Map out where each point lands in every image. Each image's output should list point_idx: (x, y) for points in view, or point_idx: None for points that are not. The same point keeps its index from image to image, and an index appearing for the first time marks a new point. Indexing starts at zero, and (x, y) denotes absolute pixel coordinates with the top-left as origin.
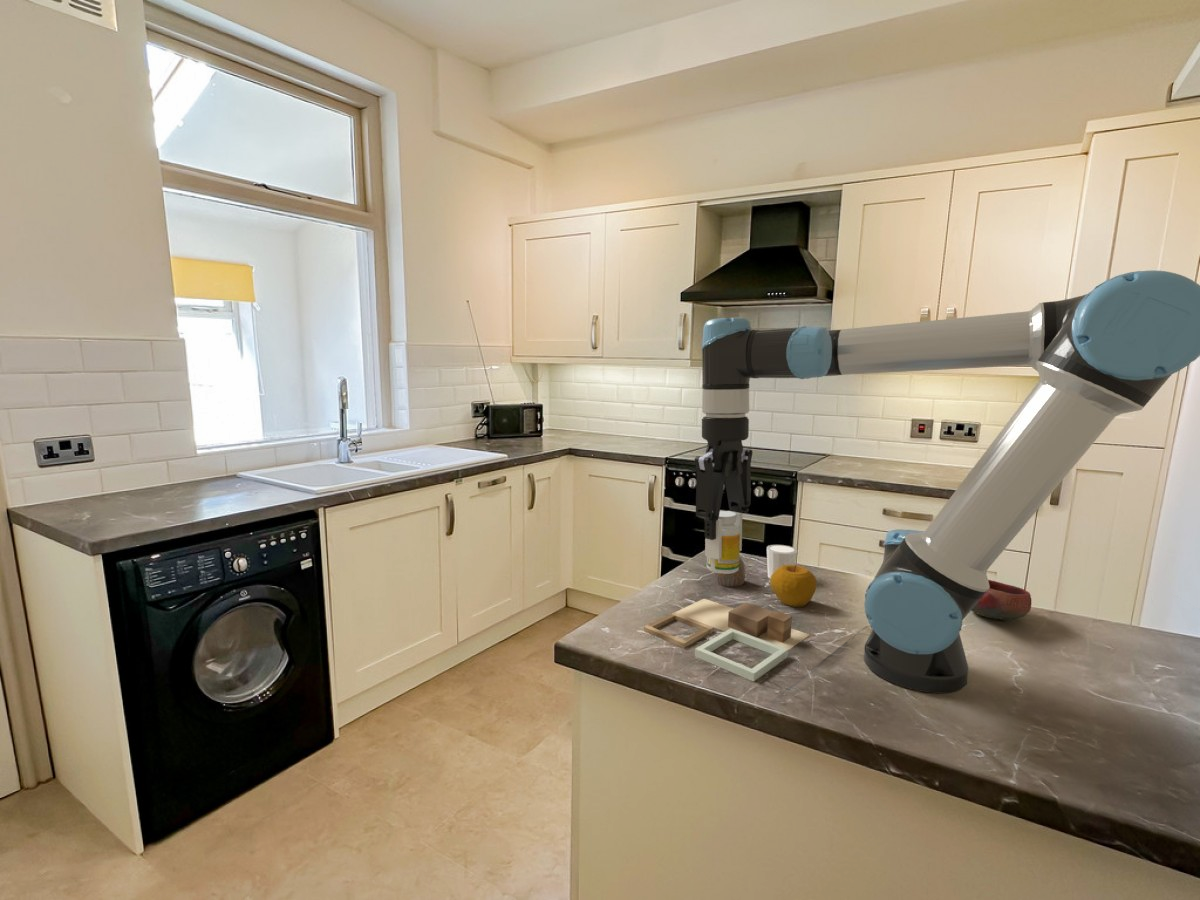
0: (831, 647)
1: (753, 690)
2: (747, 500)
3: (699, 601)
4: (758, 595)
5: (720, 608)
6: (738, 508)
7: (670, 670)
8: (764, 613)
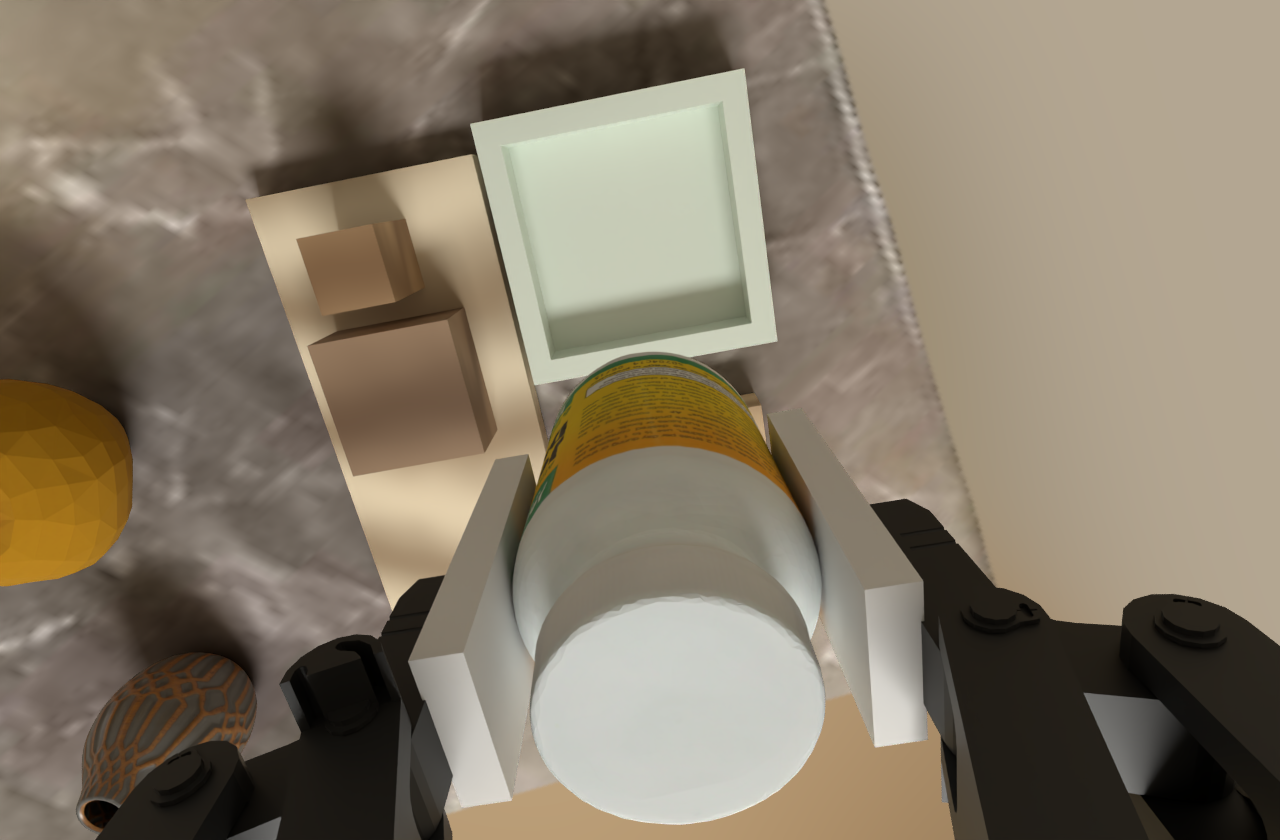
0: (216, 110)
1: None
2: (192, 817)
3: None
4: (156, 577)
5: (408, 551)
6: (408, 744)
7: (869, 338)
8: (359, 359)
